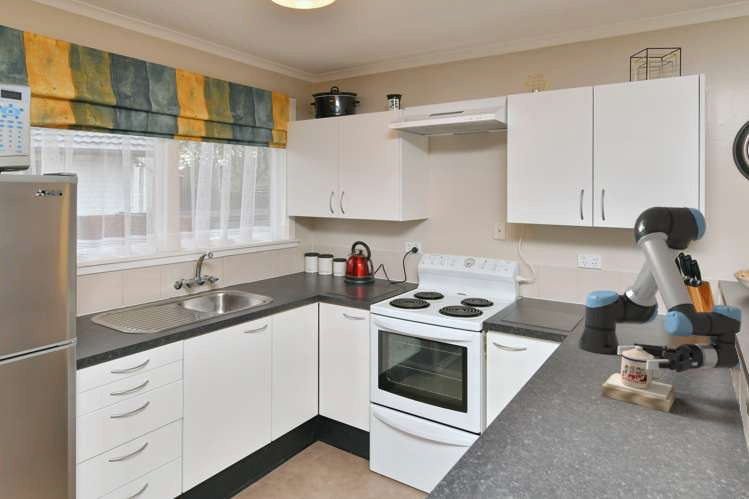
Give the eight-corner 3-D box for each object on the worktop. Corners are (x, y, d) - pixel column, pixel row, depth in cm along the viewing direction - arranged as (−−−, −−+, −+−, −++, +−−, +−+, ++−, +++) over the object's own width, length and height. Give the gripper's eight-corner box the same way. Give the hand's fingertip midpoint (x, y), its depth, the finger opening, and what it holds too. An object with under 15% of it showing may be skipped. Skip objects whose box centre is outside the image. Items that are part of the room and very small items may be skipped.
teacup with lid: (616, 384, 151) (619, 346, 150) (622, 376, 158) (625, 340, 157) (661, 394, 144) (664, 355, 143) (665, 386, 151) (669, 348, 150)
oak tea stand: (601, 395, 152) (602, 383, 152) (612, 383, 163) (613, 371, 163) (668, 412, 141) (669, 398, 141) (675, 397, 152) (676, 385, 152)
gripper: (727, 382, 141) (659, 384, 139) (665, 355, 166) (606, 356, 163) (730, 357, 141) (662, 358, 138) (667, 333, 165) (608, 334, 162)
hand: (632, 357), depth 151 cm, fingers open, 13 cm apart
